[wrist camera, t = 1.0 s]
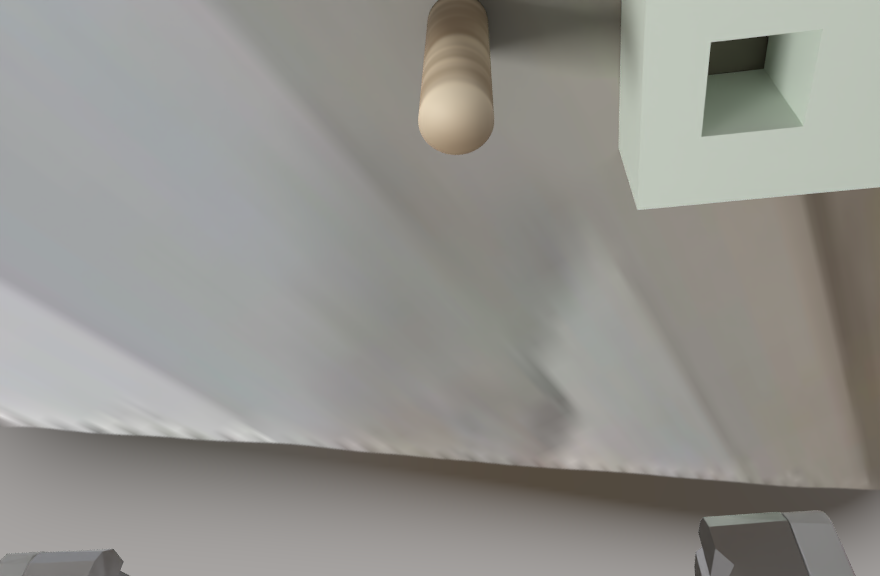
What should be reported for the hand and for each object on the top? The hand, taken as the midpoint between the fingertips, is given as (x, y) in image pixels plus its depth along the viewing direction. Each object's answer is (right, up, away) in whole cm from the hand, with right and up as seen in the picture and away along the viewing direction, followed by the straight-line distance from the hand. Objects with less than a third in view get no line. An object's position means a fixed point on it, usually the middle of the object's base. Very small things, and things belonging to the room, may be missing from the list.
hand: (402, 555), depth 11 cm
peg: (+1, +17, +27) cm, 32 cm away
